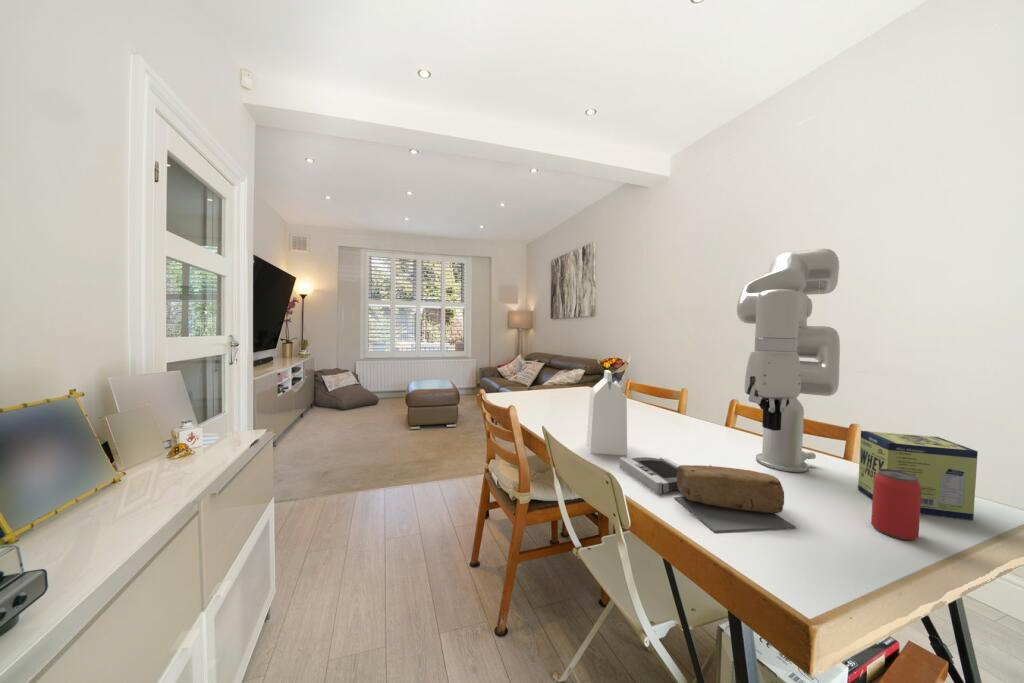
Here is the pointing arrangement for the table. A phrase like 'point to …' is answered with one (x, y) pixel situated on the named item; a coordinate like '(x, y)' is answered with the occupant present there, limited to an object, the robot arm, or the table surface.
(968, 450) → the protein box
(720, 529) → the mat
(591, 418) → the milk
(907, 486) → the beer can
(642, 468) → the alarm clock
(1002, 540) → the table surface
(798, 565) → the table surface
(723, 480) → the block
